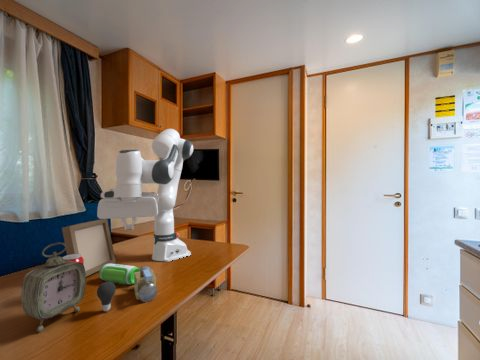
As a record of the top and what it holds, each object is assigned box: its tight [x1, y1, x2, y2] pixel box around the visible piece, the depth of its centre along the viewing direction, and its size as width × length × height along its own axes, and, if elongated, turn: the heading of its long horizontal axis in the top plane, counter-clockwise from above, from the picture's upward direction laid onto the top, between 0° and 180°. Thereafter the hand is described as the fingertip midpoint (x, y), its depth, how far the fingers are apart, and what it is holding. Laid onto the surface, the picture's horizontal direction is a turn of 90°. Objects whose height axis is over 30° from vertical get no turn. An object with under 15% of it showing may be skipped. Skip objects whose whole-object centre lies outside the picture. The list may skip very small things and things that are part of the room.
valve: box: [133, 268, 158, 303], centre depth 89 cm, size 7×14×8 cm, turn 32°
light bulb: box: [96, 281, 117, 312], centre depth 77 cm, size 6×6×10 cm
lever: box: [139, 265, 152, 281], centre depth 86 cm, size 11×4×2 cm, turn 32°
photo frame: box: [61, 219, 117, 278], centre depth 112 cm, size 15×22×25 cm
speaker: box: [98, 263, 140, 285], centre depth 100 cm, size 18×7×8 cm, turn 74°
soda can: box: [61, 254, 84, 265], centre depth 90 cm, size 8×8×15 cm
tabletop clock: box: [20, 241, 87, 333], centre depth 73 cm, size 14×9×25 cm, turn 160°
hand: (129, 229), depth 83 cm, fingers closed
